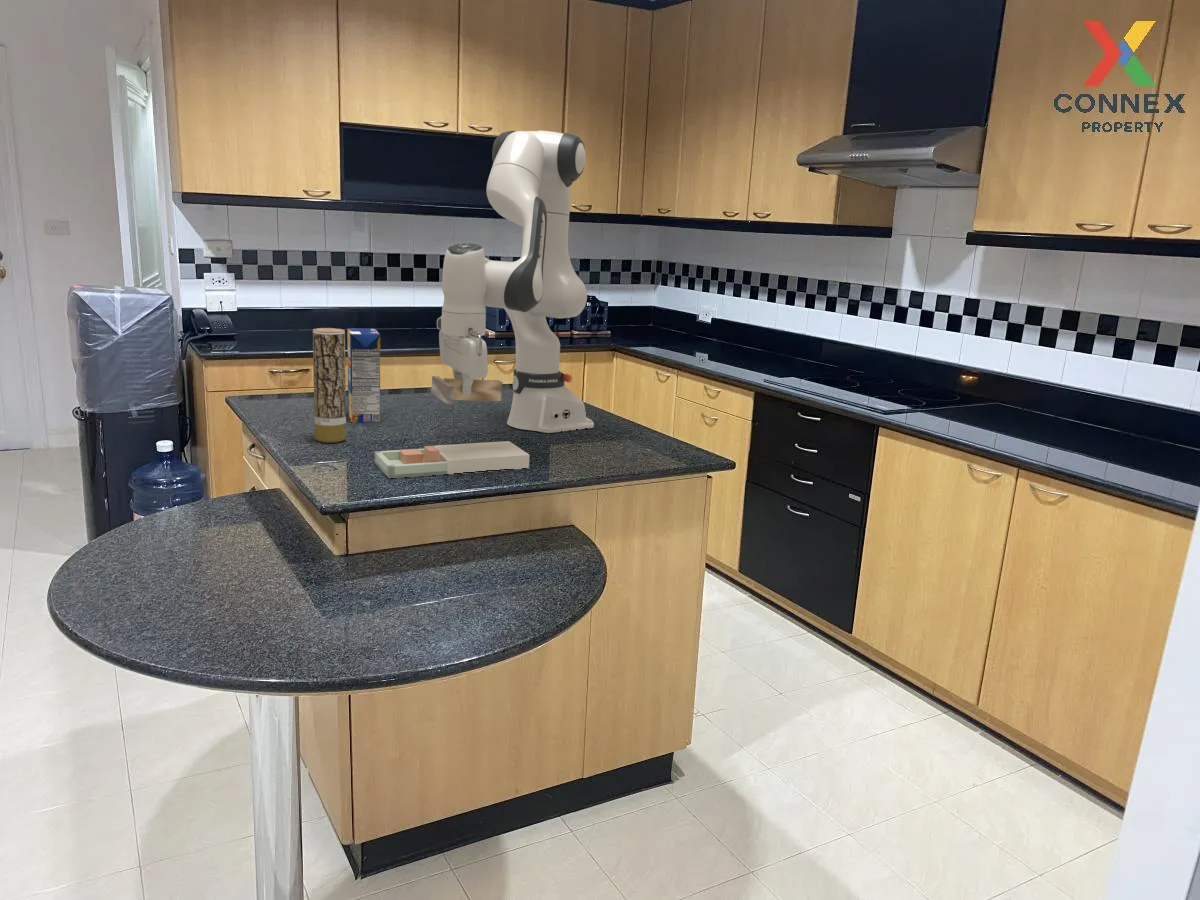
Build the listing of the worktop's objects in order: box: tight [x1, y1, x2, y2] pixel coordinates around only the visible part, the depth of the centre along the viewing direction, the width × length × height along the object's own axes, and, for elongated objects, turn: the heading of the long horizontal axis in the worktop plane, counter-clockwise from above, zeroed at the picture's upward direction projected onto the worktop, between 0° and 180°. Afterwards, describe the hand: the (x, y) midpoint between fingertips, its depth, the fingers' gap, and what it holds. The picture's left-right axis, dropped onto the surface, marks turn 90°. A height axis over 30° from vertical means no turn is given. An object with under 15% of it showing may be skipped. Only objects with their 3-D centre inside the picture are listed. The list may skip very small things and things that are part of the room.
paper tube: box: [312, 327, 347, 444], centre depth 199 cm, size 7×7×25 cm
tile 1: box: [399, 448, 424, 464], centre depth 186 cm, size 4×4×2 cm
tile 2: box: [423, 445, 440, 463], centre depth 182 cm, size 4×4×2 cm
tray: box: [373, 448, 448, 480], centre depth 183 cm, size 12×12×2 cm
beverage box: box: [346, 327, 381, 424], centre depth 222 cm, size 7×11×22 cm, turn 20°
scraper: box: [430, 375, 503, 405], centre depth 185 cm, size 13×11×4 cm
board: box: [434, 440, 530, 475], centre depth 190 cm, size 18×12×3 cm, turn 117°
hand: (462, 392), depth 185 cm, fingers closed on scraper, 2 cm apart
